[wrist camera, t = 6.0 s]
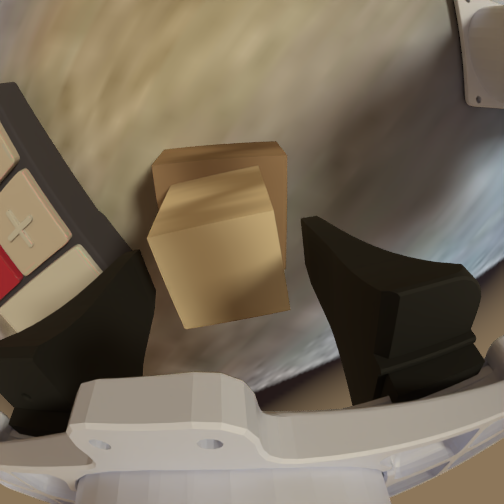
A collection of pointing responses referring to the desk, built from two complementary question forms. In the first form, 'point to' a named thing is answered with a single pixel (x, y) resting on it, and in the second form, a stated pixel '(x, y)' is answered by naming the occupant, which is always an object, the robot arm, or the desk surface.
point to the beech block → (220, 249)
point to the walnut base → (224, 160)
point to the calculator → (44, 221)
